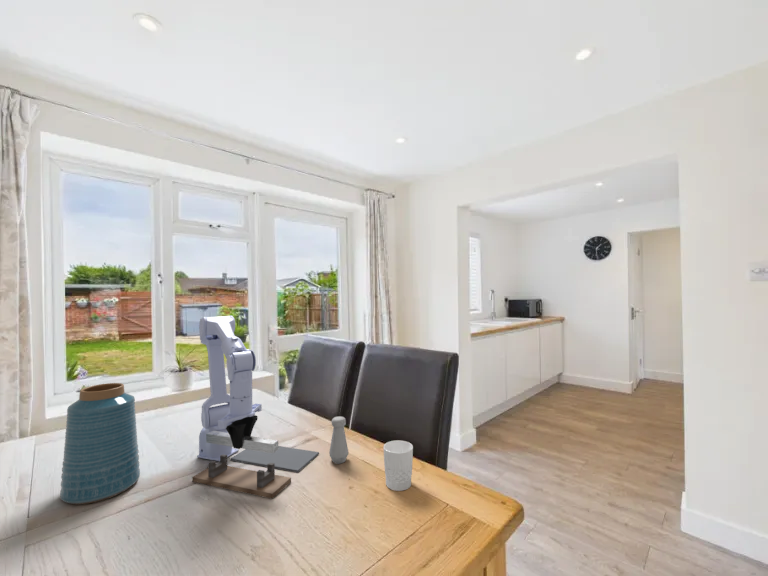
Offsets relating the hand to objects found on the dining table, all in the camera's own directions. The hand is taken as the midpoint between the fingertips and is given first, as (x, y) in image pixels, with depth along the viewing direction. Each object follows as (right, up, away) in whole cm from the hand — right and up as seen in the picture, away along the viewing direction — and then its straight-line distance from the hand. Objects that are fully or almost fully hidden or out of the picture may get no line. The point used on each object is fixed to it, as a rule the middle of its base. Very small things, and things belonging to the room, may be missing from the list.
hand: (241, 445), depth 95 cm
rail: (0, 0, 0) cm, 0 cm away
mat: (+5, -10, +14) cm, 18 cm away
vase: (-36, -10, -3) cm, 37 cm away
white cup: (+43, -10, -2) cm, 44 cm away
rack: (0, -10, 0) cm, 10 cm away
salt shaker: (+25, -10, +11) cm, 29 cm away
